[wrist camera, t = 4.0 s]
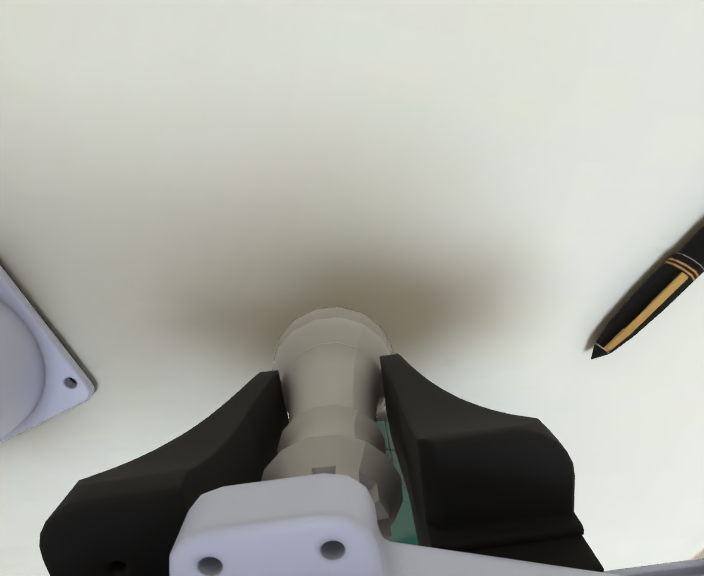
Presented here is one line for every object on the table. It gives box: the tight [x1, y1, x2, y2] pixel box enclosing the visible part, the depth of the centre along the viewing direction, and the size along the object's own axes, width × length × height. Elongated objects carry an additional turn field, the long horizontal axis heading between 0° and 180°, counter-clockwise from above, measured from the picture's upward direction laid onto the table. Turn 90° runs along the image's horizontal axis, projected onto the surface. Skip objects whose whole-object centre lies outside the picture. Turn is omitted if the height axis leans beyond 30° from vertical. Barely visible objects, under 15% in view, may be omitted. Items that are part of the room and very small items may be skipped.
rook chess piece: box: [261, 307, 403, 541], centre depth 12 cm, size 4×4×8 cm
